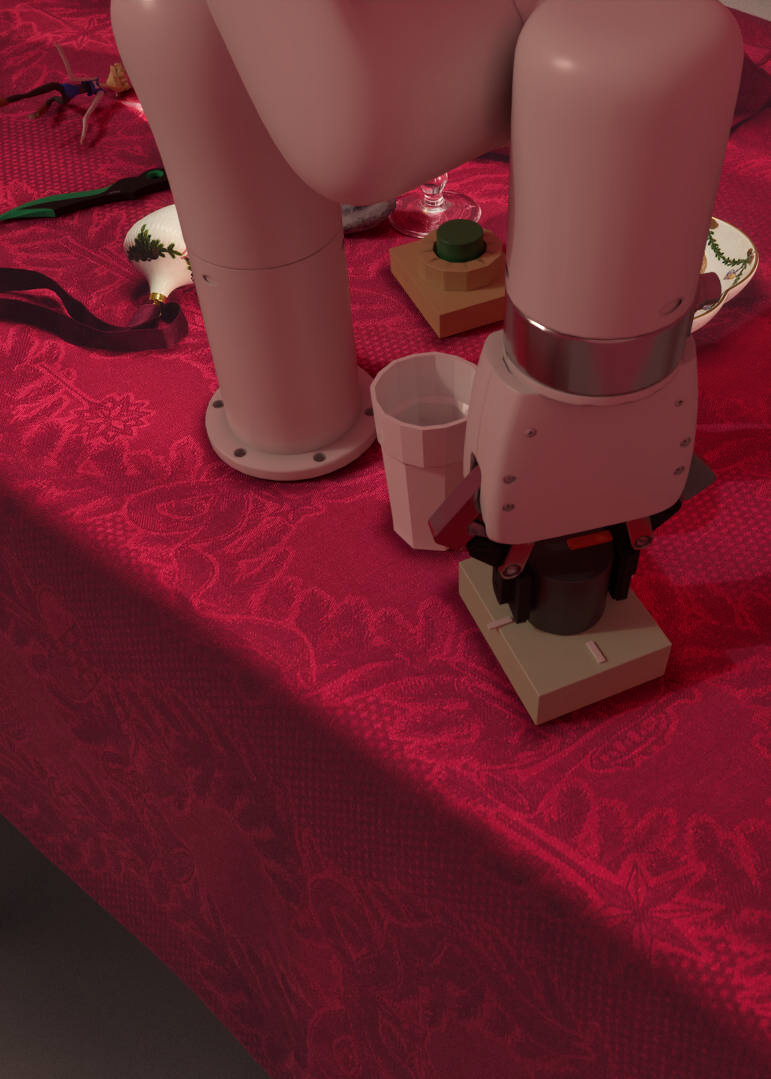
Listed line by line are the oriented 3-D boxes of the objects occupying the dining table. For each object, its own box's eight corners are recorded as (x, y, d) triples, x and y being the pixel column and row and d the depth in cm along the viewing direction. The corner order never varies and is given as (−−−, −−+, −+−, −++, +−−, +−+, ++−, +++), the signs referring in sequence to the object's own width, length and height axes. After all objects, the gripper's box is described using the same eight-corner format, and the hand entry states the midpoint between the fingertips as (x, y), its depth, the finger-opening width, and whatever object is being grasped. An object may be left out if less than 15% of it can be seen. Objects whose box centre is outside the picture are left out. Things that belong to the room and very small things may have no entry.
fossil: (292, 210, 85) (311, 174, 88) (304, 243, 88) (322, 208, 90) (383, 208, 82) (399, 171, 85) (393, 242, 85) (408, 205, 87)
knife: (227, 145, 97) (238, 169, 94) (228, 152, 97) (239, 176, 94) (-16, 197, 93) (-13, 224, 90) (-13, 205, 93) (-10, 231, 90)
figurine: (171, 16, 101) (6, 71, 90) (185, 103, 107) (31, 165, 96) (106, -1, 106) (-59, 49, 95) (122, 83, 112) (-31, 140, 101)
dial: (534, 644, 54) (539, 588, 50) (506, 577, 57) (509, 519, 53) (618, 624, 54) (629, 567, 50) (586, 559, 57) (594, 501, 54)
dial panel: (450, 596, 60) (450, 562, 58) (583, 548, 62) (587, 514, 59) (527, 729, 54) (530, 698, 51) (672, 672, 55) (681, 639, 53)
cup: (362, 537, 63) (347, 406, 55) (414, 471, 67) (407, 340, 59) (454, 575, 61) (453, 444, 53) (502, 505, 65) (508, 372, 56)
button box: (390, 271, 82) (388, 228, 79) (478, 246, 84) (478, 203, 81) (439, 338, 76) (438, 295, 73) (533, 310, 78) (536, 266, 75)
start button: (429, 245, 78) (428, 225, 77) (470, 233, 79) (471, 213, 78) (448, 269, 76) (448, 249, 75) (490, 256, 77) (491, 236, 75)
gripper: (744, 236, 44) (678, 511, 58) (374, 307, 43) (396, 574, 56) (831, 336, 40) (737, 610, 53) (418, 420, 38) (430, 682, 52)
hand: (562, 589), depth 55 cm, fingers closed on dial, 4 cm apart
